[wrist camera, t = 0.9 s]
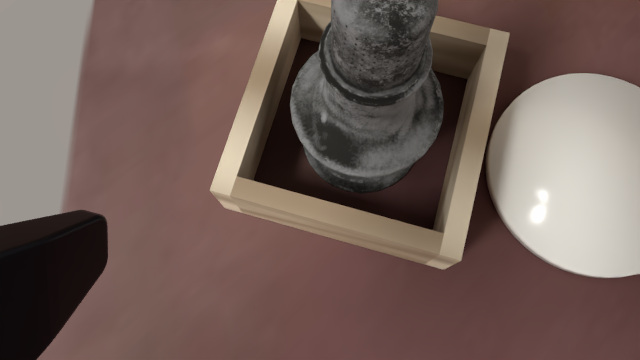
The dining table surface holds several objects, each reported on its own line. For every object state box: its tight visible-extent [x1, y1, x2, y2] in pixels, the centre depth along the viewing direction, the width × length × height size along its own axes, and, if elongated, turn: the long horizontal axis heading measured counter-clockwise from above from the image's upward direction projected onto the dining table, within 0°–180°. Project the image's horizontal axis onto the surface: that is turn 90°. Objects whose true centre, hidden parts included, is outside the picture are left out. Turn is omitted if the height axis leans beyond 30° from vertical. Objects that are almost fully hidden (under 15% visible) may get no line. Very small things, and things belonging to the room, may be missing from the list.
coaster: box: [486, 73, 640, 278], centre depth 22 cm, size 9×9×1 cm
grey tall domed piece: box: [290, 0, 444, 193], centre depth 18 cm, size 6×6×12 cm
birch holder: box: [210, 0, 510, 270], centre depth 22 cm, size 10×10×3 cm
